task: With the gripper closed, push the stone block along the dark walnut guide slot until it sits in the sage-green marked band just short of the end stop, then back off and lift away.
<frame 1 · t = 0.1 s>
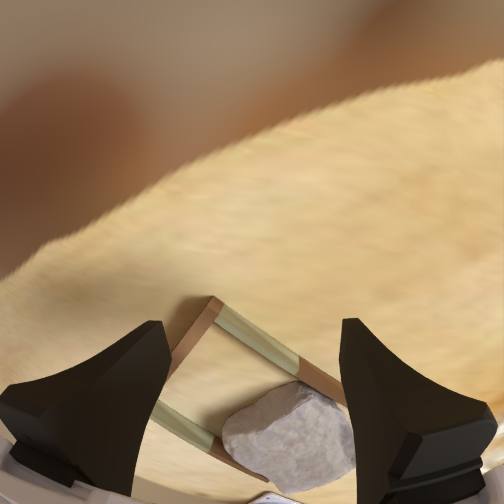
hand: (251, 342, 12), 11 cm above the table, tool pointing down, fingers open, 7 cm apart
stone block: (301, 429, 25), on the table
guide slot: (245, 400, 25), on the table
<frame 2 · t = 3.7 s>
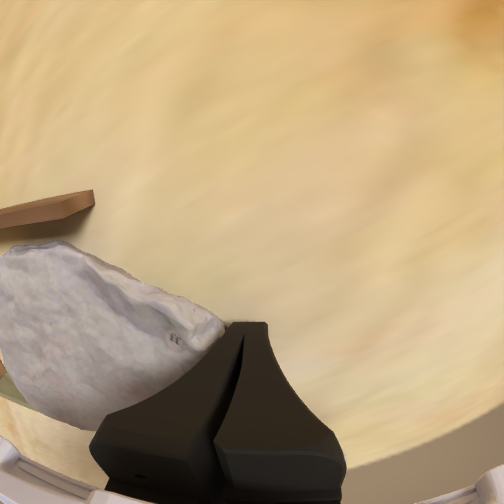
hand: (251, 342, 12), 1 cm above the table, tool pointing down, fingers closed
stone block: (115, 327, 14), on the table, touching gripper
guide slot: (25, 316, 14), on the table
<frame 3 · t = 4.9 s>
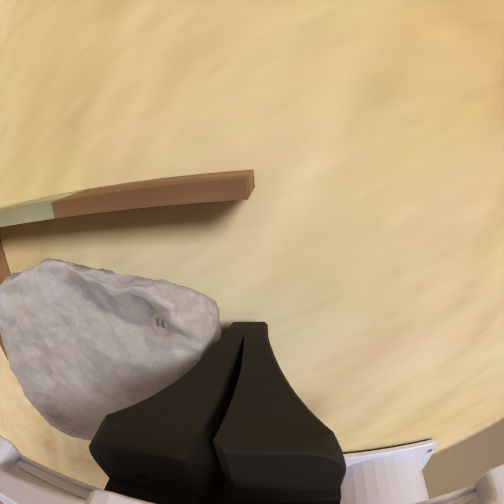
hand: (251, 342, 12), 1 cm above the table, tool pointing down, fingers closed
stone block: (120, 334, 14), on the table
guide slot: (108, 323, 14), on the table
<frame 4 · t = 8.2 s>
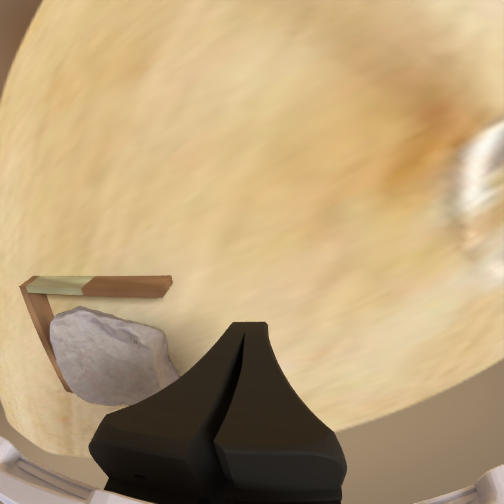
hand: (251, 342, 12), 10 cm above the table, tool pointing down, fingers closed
stone block: (118, 344, 26), on the table
guide slot: (110, 339, 26), on the table
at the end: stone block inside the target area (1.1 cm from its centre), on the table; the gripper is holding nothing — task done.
